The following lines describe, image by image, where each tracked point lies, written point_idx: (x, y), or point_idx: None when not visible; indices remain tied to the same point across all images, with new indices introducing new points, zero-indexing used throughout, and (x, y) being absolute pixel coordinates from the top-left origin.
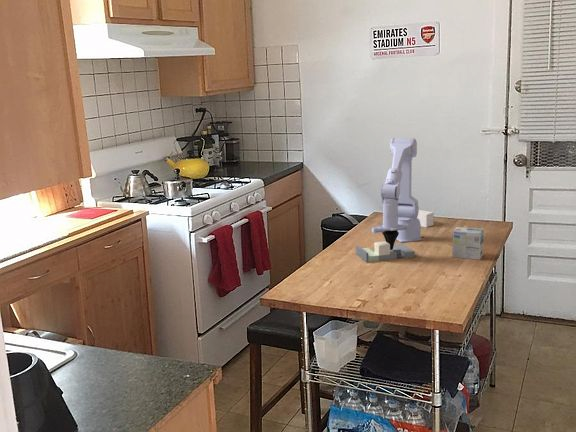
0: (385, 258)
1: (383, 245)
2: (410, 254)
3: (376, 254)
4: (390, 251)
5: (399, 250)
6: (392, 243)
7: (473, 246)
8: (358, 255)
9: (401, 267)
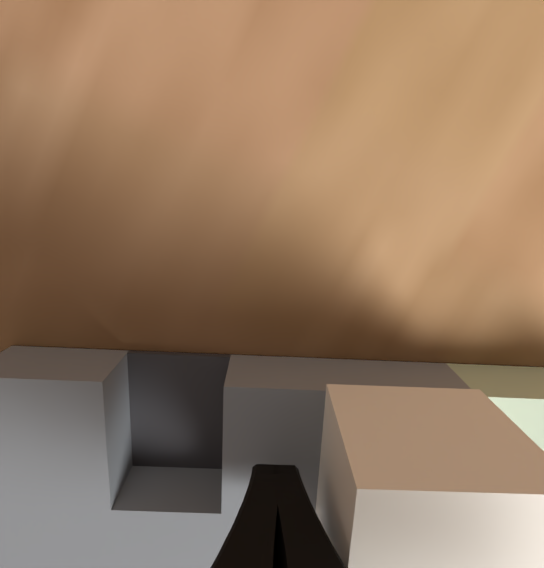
0: (371, 369)
1: (488, 487)
2: (46, 361)
3: None
4: None
5: (127, 499)
6: (266, 536)
7: None
8: None
9: (331, 33)
